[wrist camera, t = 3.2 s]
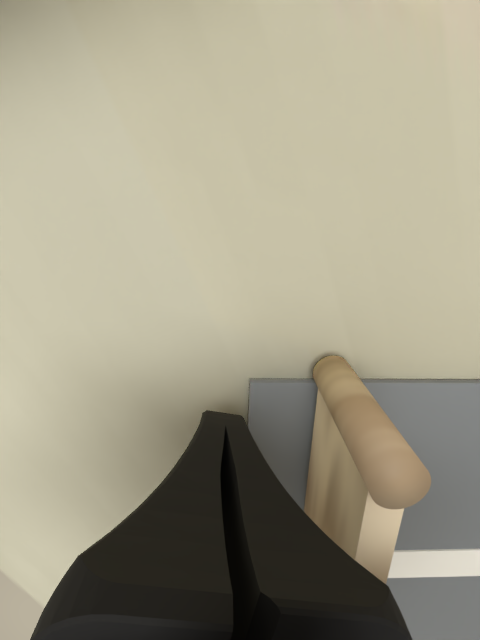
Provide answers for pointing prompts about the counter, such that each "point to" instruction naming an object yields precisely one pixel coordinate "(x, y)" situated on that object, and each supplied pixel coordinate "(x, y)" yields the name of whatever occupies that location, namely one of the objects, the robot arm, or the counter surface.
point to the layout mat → (419, 519)
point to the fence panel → (359, 469)
